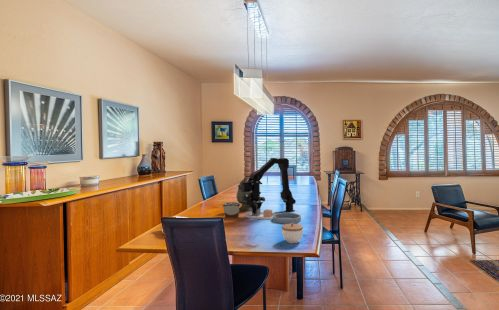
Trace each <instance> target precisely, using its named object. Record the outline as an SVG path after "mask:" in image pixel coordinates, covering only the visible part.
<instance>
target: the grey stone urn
mask: <svg viewBox="0 0 499 310" xmlns="http://www.w3.org/2000/svg"><path fill="white" fill-rule="evenodd" d="M247 181H248V178H247V177H244V178H243V179H242V180H241V181H240V182H239V183H238V185H237V187H238V188H237V192H236V201H237V203H239V204H240V206H239V212H252V207H251V206H250V205H246V202H247V201H248V200H247V201H245V200H244V199H243V198H244V195H247V196H248V195H250V193H251V192H252V190H251V191H250V192H242V191H241V185H242V182H247Z"/></svg>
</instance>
